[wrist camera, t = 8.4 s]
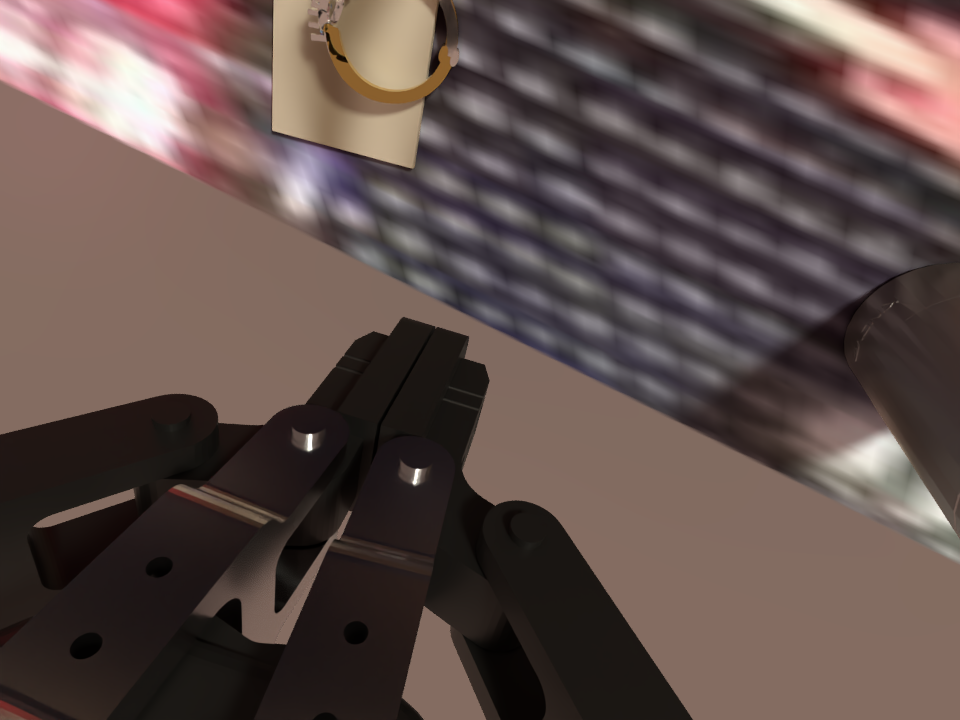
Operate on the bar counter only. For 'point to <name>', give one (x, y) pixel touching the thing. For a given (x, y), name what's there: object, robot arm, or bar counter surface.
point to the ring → (329, 14)
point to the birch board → (374, 54)
